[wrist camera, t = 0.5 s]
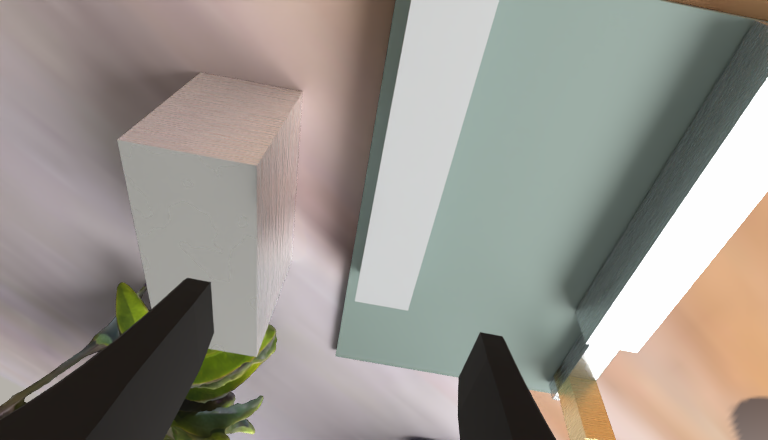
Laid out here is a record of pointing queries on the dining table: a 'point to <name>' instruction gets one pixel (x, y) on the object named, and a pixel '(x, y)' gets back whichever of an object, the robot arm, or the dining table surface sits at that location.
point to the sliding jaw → (673, 232)
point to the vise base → (515, 168)
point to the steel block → (218, 198)
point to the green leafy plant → (208, 392)
